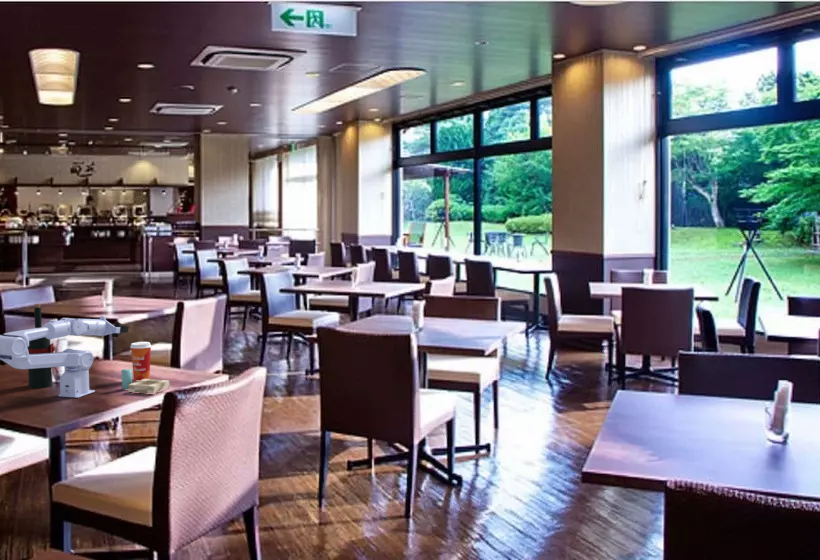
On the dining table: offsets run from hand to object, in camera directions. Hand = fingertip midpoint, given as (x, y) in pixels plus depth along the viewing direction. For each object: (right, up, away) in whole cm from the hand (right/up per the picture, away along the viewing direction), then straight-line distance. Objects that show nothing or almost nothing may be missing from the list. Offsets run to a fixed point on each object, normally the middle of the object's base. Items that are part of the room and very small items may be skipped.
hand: (119, 327), depth 292 cm
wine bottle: (-26, -21, -5) cm, 34 cm away
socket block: (+15, -22, -11) cm, 29 cm away
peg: (+6, -21, -9) cm, 24 cm away
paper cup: (+6, -20, +6) cm, 22 cm away
